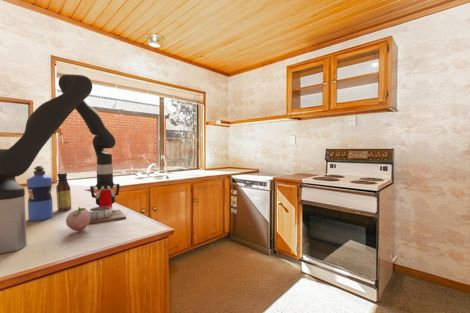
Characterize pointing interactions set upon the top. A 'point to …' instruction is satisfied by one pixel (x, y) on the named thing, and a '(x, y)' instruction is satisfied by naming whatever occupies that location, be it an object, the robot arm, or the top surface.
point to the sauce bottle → (63, 193)
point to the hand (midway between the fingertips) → (105, 204)
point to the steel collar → (100, 212)
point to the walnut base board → (115, 216)
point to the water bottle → (39, 196)
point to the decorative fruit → (78, 219)
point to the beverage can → (105, 198)
